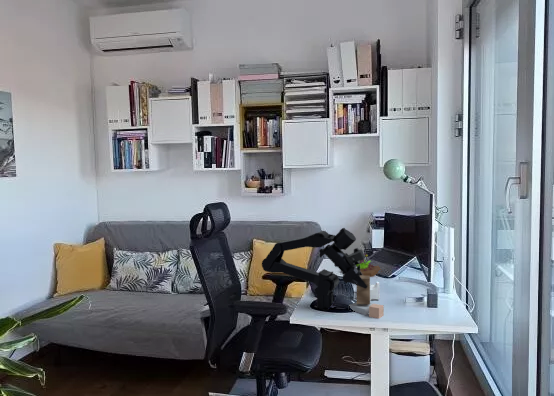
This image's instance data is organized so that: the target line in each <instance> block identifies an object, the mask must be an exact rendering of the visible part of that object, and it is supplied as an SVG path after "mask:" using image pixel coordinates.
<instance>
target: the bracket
mask: <svg viewBox="0 0 554 396" xmlns="http://www.w3.org/2000/svg"><path fill="white" fill-rule="evenodd" d="M380 286H381V285H380V282H379V281H376V282H375V284H370V302H371V301H372V300H380V299H381V298H380V297H381V295H380V289H381V288H380Z"/></svg>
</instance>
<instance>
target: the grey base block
mask: <svg viewBox="0 0 554 396" xmlns="http://www.w3.org/2000/svg"><path fill="white" fill-rule="evenodd" d="M372 304H375V303H373V302H370V305H368V304H357V301H355V302H353V303H351V304H349V305H348V307H349V306H350V308H351V309H352V310H353V311H352V312H354V311H355V313H359V314H362V315H365V316H366V315H369V306H371V305H372Z"/></svg>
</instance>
